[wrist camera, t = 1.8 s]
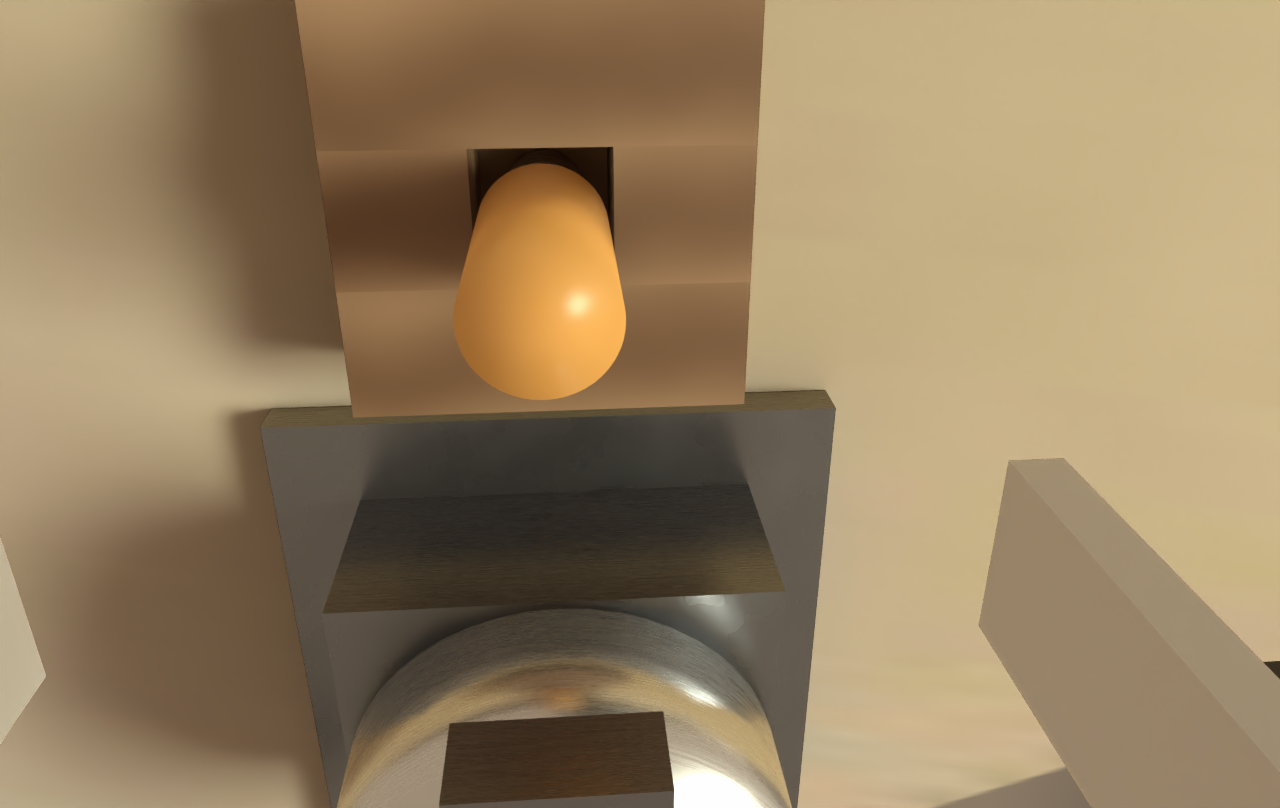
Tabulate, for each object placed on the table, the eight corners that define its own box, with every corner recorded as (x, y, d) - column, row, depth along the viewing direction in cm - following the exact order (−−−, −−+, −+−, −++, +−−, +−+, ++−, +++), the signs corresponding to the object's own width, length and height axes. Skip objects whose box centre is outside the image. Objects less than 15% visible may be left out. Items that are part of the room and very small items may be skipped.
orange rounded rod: (483, 128, 31) (446, 241, 20) (599, 127, 31) (625, 237, 20) (491, 242, 32) (460, 403, 21) (602, 239, 32) (626, 397, 22)
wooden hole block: (333, -20, 29) (293, -10, 25) (734, -22, 30) (765, -12, 26) (379, 353, 35) (353, 417, 30) (719, 343, 35) (744, 404, 31)
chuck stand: (271, 408, 35) (199, 533, 28) (825, 390, 37) (891, 504, 29) (344, 814, 44) (303, 987, 37) (789, 786, 45) (833, 948, 38)
